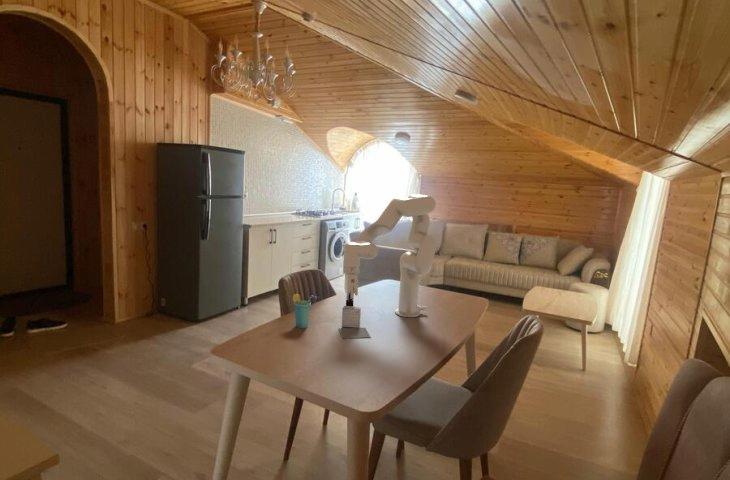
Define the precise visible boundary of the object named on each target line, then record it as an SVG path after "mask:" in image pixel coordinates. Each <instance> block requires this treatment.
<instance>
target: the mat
mask: <svg viewBox="0 0 730 480" xmlns="http://www.w3.org/2000/svg"><path fill="white" fill-rule="evenodd" d="M338 330H339V334H340V336H341V339H343V340H347V339H348V340H349V339H371V338H372V337H371V335H370V333H369V332H368V330H367V328H366V327H359V328H353V327H343V328H342V327H341V328H340V327H339V328H338Z"/></svg>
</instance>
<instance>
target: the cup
mask: <svg viewBox="0 0 730 480" xmlns="http://www.w3.org/2000/svg"><path fill="white" fill-rule="evenodd" d="M312 298H314V299H316V300H319V296H317V295H313V294H311V295H310V296H309V298H308V300H302V299H301V295H300V294H299V293H294V294H293V296H292V301H293V306H294V313H295V314H294V315H295V327H297V329H305V328H308V326H309V320H310V319H309V318H310V311H311V306H312V302H311V299H312Z"/></svg>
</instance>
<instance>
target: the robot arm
mask: <svg viewBox="0 0 730 480" xmlns="http://www.w3.org/2000/svg"><path fill="white" fill-rule="evenodd" d="M436 206H437V203H436V199H435V198H434V197H433V196H430V195H427V194H426V195H425V194H411V195H409V196H408V197H406V198H405V197H394V198H393V199H392V200H391V201H390V202H389V203H388V205H387V206H386V208H385V209H384V210H383V212H382V213H381V214H380V216H378V218H377V220H376V221H374V222H373V223H371V224H369V226H367V227H366V228H365V229H363V231H362V232H361V233H360V234H359V236H358V237H357V238H356V240H355V241H354V242H353V241H352V242H351V241H349V242H346V243H345V244H344V245H343V260H342V261H343V263H342V265H343V266H342V273H343V274H344V292H345V294H346V295H345V297H346V298H345V306H354V297H355V296H358V293H359V277H358V276H359V274H360V267H361V266H360V264H361V259H365V260H372V259H375V258H376V257H377V256H378V254H379V248H378V246H377V244H374V243H373V242H374V240H375V239H377V238H379V237H380V236H383V235H386V234H387V235H388V234H389V233H391V232H392V231H393V230H394V229H395V227H396V225H397V224H398V223H399V221H400V219H402V217H406V218H411V217H412V218H411V219H412V222H411V227H410V231H409V234H408V237H407V245H408V247H409V248H410V249H412V250H413V251H417V252H413V251H406V252H404V253H402V254H401V255H400V258H399V269H400V271H399V272H400V278H399V295H398V297H399V298H398V307H397V308H396V309H395V310H394V312H395V314H396V315H398V316H400V317H404V318H417V317H419V316H420V315H421V311H427V306H423V305H419V303H418V302H419V291H420V289H419V288H420V276H425V275H427V274H428V273H429V272H430V270H431V268H432V265H433V262H434V258H435V254H436V251H437V245H438V244H437V243H438V242H437V238H436V236H435V235H433V234H432V233H429V228H430V216H429V214H430V213H433V212H434V210H435V209H436ZM354 295H355V296H354Z"/></svg>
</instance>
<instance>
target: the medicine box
mask: <svg viewBox="0 0 730 480" xmlns="http://www.w3.org/2000/svg"><path fill="white" fill-rule="evenodd" d="M361 309H362V307H361V306H355V305H353V306H346V305H344V306H343V307H342V313H341V316H342V317H341V328H342V327H343V328H361V315H362V313H361V312H362V311H361Z"/></svg>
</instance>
